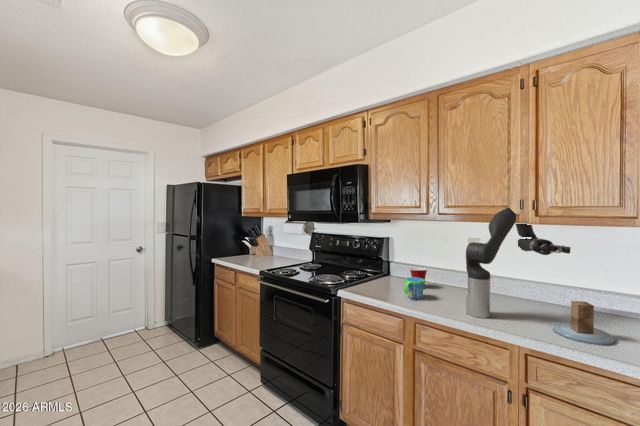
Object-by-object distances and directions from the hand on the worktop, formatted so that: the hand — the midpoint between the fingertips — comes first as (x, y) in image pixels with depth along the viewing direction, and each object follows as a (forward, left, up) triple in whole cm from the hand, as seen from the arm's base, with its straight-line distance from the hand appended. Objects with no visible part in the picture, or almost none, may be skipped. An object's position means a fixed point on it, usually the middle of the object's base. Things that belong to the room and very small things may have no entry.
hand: (557, 250), depth 135 cm
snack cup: (-61, -14, -30) cm, 69 cm away
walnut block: (+8, -18, -29) cm, 35 cm away
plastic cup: (-68, +8, -30) cm, 75 cm away
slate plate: (+8, -18, -30) cm, 36 cm away
